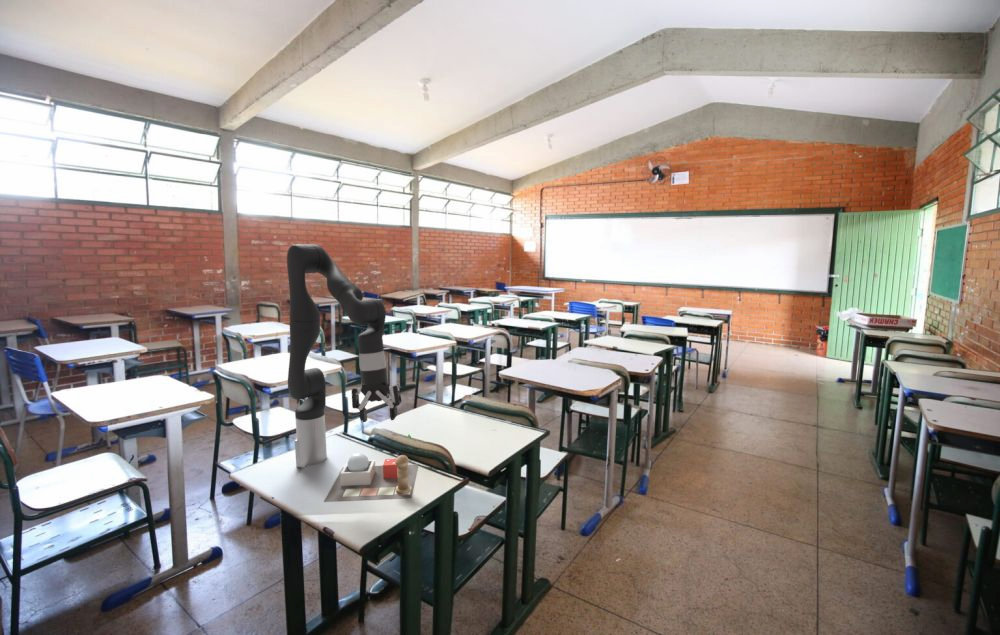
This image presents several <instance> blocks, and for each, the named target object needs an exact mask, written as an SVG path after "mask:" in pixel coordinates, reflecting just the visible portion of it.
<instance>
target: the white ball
mask: <svg viewBox="0 0 1000 635" xmlns="http://www.w3.org/2000/svg"><path fill="white" fill-rule="evenodd" d="M368 460H369V458H368V456H367V455H366V454H365V453H363V452H355V453H353V454H351V455H350V457H349V458H348V459H347V461H348V463H347V462H346V463H347V465H348V469H349V470H350V471H351V472H363V471H365V470H366V469H367V467H368V464H369V461H368Z"/></svg>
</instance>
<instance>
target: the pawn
mask: <svg viewBox="0 0 1000 635" xmlns="http://www.w3.org/2000/svg"><path fill="white" fill-rule="evenodd" d="M395 459H396V465H397V475H398V486H397V487H396V493H398V494H406V493H408V492H409V491H410V485H408V466H407V465H409V461H410V460H409V458H408V456H407V455H405V454H400V455H398V456H397V458H395Z"/></svg>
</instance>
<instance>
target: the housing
mask: <svg viewBox="0 0 1000 635" xmlns="http://www.w3.org/2000/svg"><path fill="white" fill-rule="evenodd" d="M368 461H369V464H368V467H367V469H366V470H365V471H363V472H351V471H350V470H349V469H348V465H347V463H348V460H347V461H346V462H345V465H344V466H343V467H344V468H343V467H342V468H343V470H342V469H341V470H342V472H341V471H340V472H341V473H340V472H339V473H340V475H341V486H349V485H370V484H371V481H372V479H373V476H374V474H375V466H376V459H368Z"/></svg>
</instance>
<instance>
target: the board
mask: <svg viewBox="0 0 1000 635" xmlns="http://www.w3.org/2000/svg"><path fill="white" fill-rule="evenodd" d="M407 466H408V485H410V491H409V492H408V493H406V494H398V493H396V487H397V486H398V478H384V479H383V465H375V474H374V476H373V479H372V481H371V484H370V485H349V486H341V475H340V473H341V472H342V470H343V468H344V466H343V467H342V468H341V470H340V471H339V473H338V476H337V477H336V479H335V481H334V482H333V484H332V486H331V488H330V490H329V492H328V494H326V497H325V499H324V500H323V502H324V503H326V502H327V503H328V502H329V503H330V502H331V503H332V502H351V501H352V502H353V501H355V502H356V501H358V502H359V501H378V500H379V501H380V500H402V499H413V494H414V487H415V483H416V478H417V473H418V468H419V464H408V465H407Z"/></svg>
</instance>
